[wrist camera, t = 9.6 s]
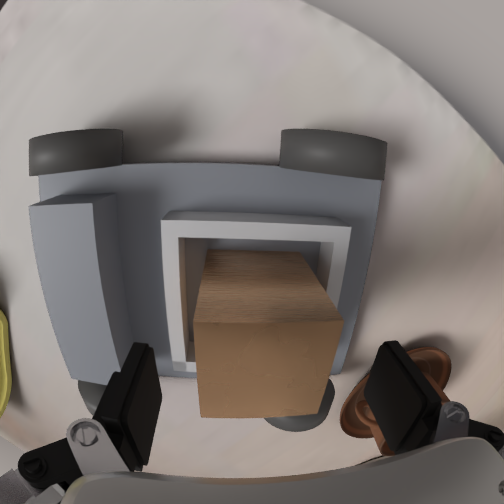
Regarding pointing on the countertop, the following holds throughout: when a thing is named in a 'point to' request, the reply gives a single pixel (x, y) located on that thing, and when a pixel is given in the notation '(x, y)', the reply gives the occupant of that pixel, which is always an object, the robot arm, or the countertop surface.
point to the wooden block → (262, 335)
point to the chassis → (190, 241)
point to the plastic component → (4, 364)
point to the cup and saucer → (359, 413)
